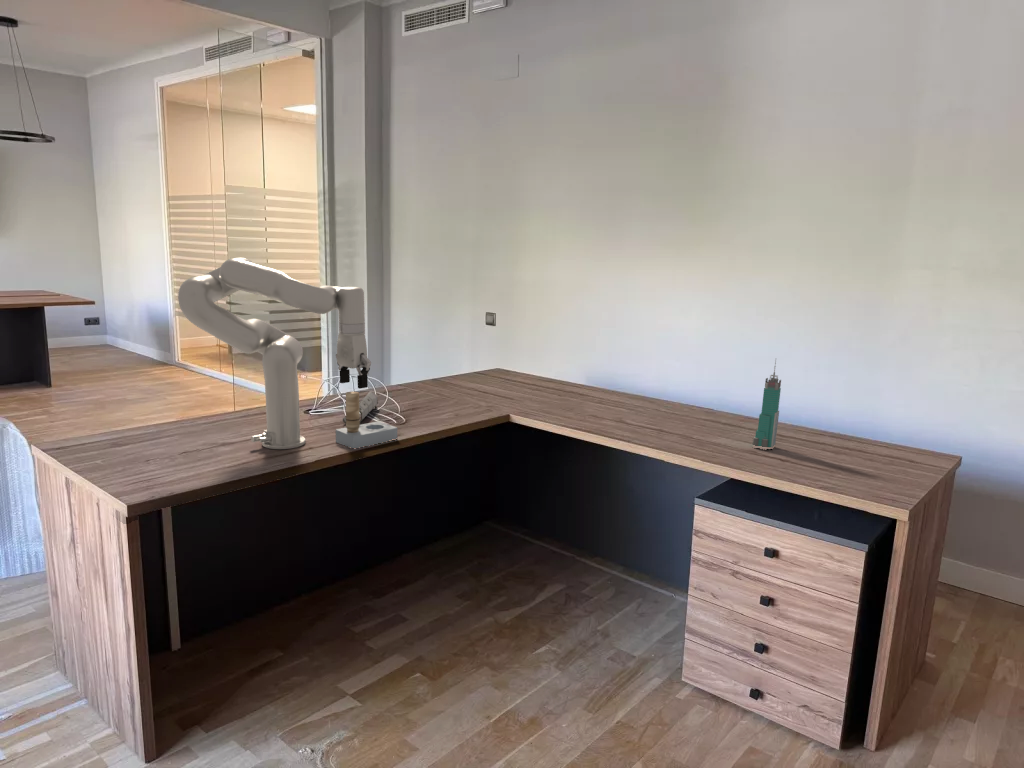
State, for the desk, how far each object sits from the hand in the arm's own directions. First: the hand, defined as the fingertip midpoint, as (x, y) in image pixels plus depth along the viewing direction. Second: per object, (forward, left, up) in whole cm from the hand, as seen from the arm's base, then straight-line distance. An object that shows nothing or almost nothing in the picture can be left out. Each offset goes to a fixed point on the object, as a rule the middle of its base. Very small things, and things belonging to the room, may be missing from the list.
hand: (353, 385), depth 212 cm
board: (+5, 0, -18) cm, 19 cm away
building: (+99, -85, -19) cm, 131 cm away
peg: (0, 0, -14) cm, 14 cm away
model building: (+20, +27, -19) cm, 38 cm away
